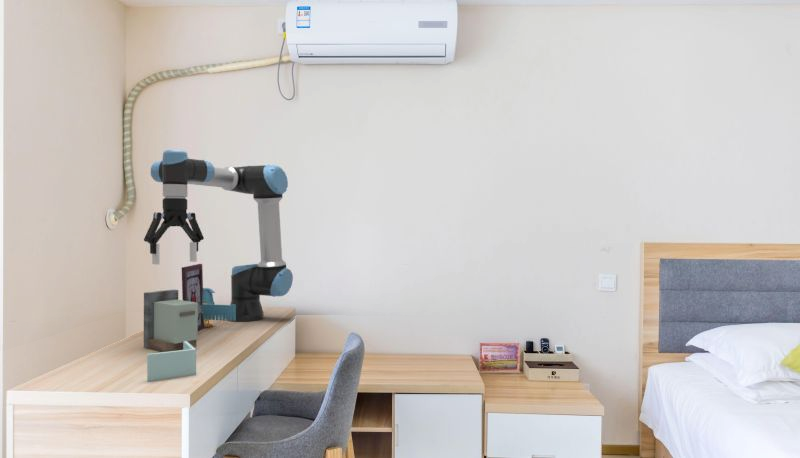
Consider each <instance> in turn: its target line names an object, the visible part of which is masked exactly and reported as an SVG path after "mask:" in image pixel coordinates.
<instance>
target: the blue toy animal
mask: <svg viewBox="0 0 800 458" xmlns="http://www.w3.org/2000/svg"><path fill="white" fill-rule="evenodd" d="M215 293H216V292H215V291H214V290H213V289H212V288H209V287H203V297H202V305H201V306H200V308H201V309H200V310H201V313H202V316H203V320H204V328H207V327H209V326H210V327H214V324H213V323H210V321H212V320H213V321H215V320H216V321H227V322H229V321H230V322H236V321H235V320H236V305H235V304H232V305H230V304H215V302H214V295H213V294H215ZM232 317H233V321H232Z"/></svg>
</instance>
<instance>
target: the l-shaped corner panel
mask: <svg viewBox="0 0 800 458" xmlns="http://www.w3.org/2000/svg"><path fill="white" fill-rule="evenodd" d="M146 355H147V357H146V358H147V359H146V361H147V362H146V364H147V365H146V367H147V369H146V370H147V371H146V372H147V373H146V374H147V375H146V376H147V377H146V379H147V380H146V381H147V382H151V381H158V380H159V381H160V380H165V379H172V378H173V379H174V378H179V377H187V376H192V375H193V374H194V375H197V348H196V347H193V346H192V345H191V344H189V343H188V342H187V341H183V349H182V350H178V351H170V352H154V353H147V354H146ZM194 375H193V376H194Z"/></svg>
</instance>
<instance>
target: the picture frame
mask: <svg viewBox="0 0 800 458" xmlns="http://www.w3.org/2000/svg"><path fill="white" fill-rule="evenodd" d="M203 272H204V271H203V263H198V264H192V265H187V266H184V267H183V266H182V267H181V292H182V294H181V295H182V299H181V300H183V301H190V302H196V303H198V332H199V331H201V330H204V329H205V327H204V320H203V316H202V313H201V310H200V309H201V308H200V306H201V305H202V297H203V288H204V278H203V275H204V274H203Z"/></svg>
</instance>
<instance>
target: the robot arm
mask: <svg viewBox="0 0 800 458" xmlns="http://www.w3.org/2000/svg"><path fill="white" fill-rule="evenodd" d="M150 176H151V178H152V179H153V180H154V181H155V182H158V183H162V196H163V197H164V198H162V211H163V212H160V211H159V212H154V213H153V217H152V220H151V223H150V225H149V227H148V229H147V232H146V234H145V236H144V238H143V241H144V242H145V243H148V244H149V253H150V254H151V255H152V258H151V259H152V263H151V264H152V265H160V243H158V242H159V241H160V240H161V238H162V237H163V235H164V234H165V233H166V232H167V230H168V229H169V228H170V227H180V228H182V229H183V231H184V233H185V234H186V235H187V236H188V238H189V239H190V242H189V262H193V263H194V262H195V263H196V262H197V260H198V258H197V256H198V255H197V253H198V252H199V243H200V242H201V241H203V240H204V239H205V238H204V235H203V232H202V229H201V228H200V225H199V223H198V221H197V218H196V217H197V216H196V213H195V212H188V213H187V210H188V199H187V198H188V185H193V186H194V185H195V186H203V187H205V186H206V187H217V188H221V189H222V190H224V191H230V192H234V193H240V194H247V195H253V200H254V201H255V202H256V203H257V212H258V213H257V215H258V217H257V218H258V233H259V235H258V236H259V247H260V248H259V249H260V251H259V253H260V261H259V262H258V263H253V264H252V263H251V264H244V265H243V264H242V265H235V266H233V267H232V269H231V274H230V276H231V277H230V278H231V279H230V280H231V282H230V283H231V284H230V285H231V286H230V289H231V300H230V304H229V305H232V304H235V305H236V320H235V321H233V317H232V321H231V322H254V321H259V320H263V319H264V317H265V314H264V311H263V306H262V304H261V300H260V298H261V297H260V296H267V297H283V296H285V295H287V294H288V292H290V289H291V288H292V285H293V281H294V277H293V273H292V270H291V269H289V268H287V262H286V261H284V259H283V253H282V251H283V249H282V234H281V232H282V231H281V216H280V212H281V211H280V201H281V200H282V199H283V194H285V193H286V192H287V190H288V189H287V188H288V187H289V185H288V184H289V183H288V177H287V173H286V172H285V171H284V169H283V168H282V167H280V166H278V165H276V164H275V165H274V164H273V165H272V164H267V165H245V166H226V167H223V168H221V167H215V166H214V164H213V163H212V162H211V161H208V160H205V159H195V158H189V157H188V152H187V151H185V150H182V149H181V150H179V149H166V150H164V151H163V154H162V160H158V161H157V160H156V161H155V162H153V163H152V164H151V167H150ZM162 219H163V221H162ZM187 220H188V221H187ZM161 221H162V222H161ZM160 223H161V224H160Z"/></svg>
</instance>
